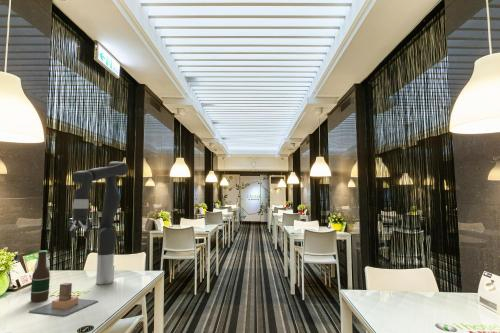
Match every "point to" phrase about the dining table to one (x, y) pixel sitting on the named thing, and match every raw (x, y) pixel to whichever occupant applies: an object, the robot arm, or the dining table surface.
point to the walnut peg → (65, 291)
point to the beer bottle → (40, 280)
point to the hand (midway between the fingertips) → (79, 238)
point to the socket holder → (63, 306)
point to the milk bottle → (46, 262)
